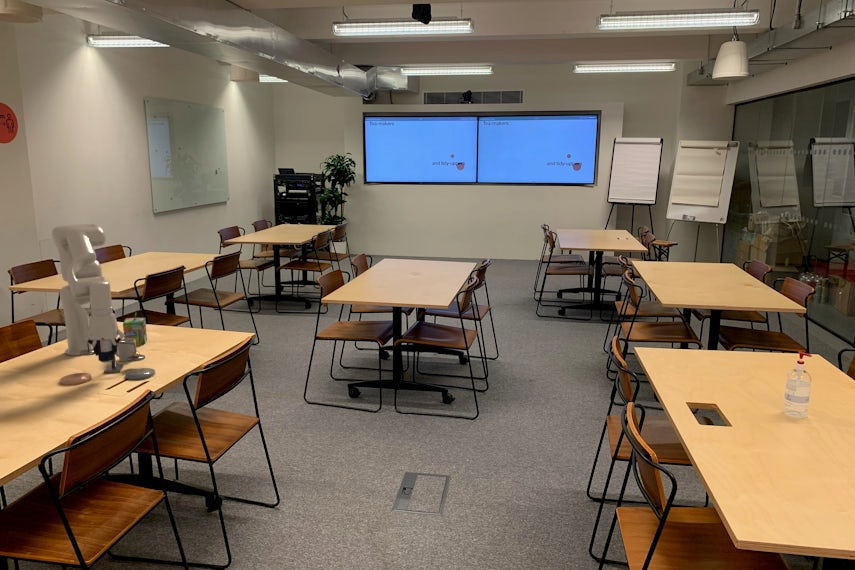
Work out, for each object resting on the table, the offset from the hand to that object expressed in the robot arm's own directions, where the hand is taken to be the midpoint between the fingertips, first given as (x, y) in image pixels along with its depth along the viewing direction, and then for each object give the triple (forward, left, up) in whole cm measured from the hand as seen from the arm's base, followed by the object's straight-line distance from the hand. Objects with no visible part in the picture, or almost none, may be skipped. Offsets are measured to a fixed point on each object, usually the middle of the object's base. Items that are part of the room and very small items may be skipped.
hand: (105, 353), depth 250 cm
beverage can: (0, 0, -3) cm, 3 cm away
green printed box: (-48, +2, -10) cm, 49 cm away
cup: (-22, +2, -10) cm, 25 cm away
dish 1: (+1, -12, -10) cm, 15 cm away
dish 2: (+1, +12, -10) cm, 16 cm away
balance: (-9, 0, -10) cm, 14 cm away
